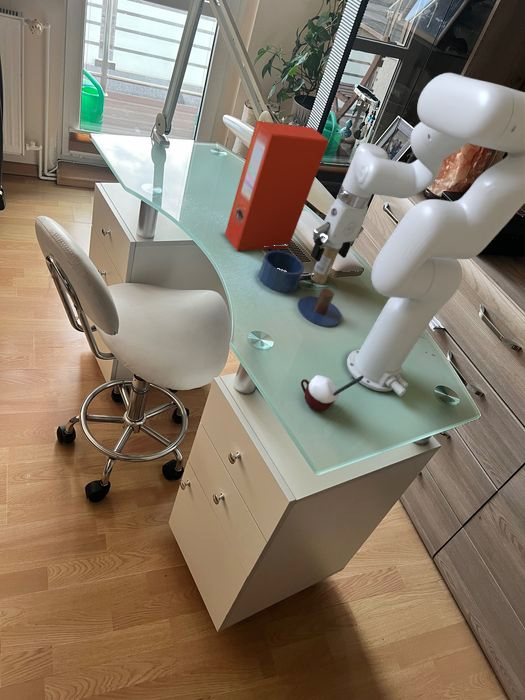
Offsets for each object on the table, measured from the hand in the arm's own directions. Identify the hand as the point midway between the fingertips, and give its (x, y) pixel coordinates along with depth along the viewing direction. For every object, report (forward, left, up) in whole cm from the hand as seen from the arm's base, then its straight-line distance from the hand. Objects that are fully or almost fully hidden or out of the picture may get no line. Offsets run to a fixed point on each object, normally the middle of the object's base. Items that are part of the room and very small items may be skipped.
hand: (328, 256), depth 132 cm
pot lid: (-12, +10, -7) cm, 17 cm away
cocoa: (-36, +31, -8) cm, 48 cm away
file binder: (+20, +7, -8) cm, 23 cm away
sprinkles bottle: (0, 0, -8) cm, 8 cm away
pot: (+2, +13, -8) cm, 15 cm away
